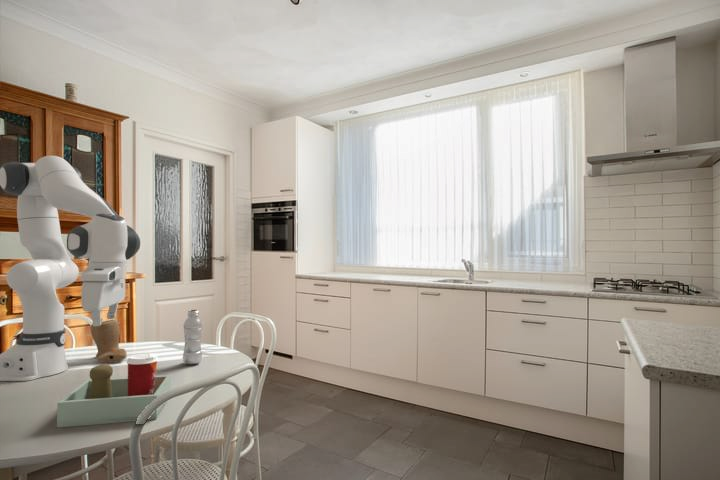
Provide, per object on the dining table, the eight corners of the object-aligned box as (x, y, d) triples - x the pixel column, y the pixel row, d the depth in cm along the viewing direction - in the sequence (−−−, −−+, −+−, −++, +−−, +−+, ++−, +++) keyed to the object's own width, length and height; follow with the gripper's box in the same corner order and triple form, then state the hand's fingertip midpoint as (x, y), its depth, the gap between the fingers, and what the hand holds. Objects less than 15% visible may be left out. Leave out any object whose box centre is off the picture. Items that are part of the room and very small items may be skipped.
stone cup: (90, 356, 151) (91, 318, 151) (125, 352, 157) (126, 316, 158) (88, 367, 138) (89, 325, 138) (126, 362, 145) (128, 322, 145)
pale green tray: (56, 427, 93) (57, 402, 93) (85, 401, 108) (86, 380, 109) (156, 419, 98) (157, 395, 99) (170, 395, 114) (171, 375, 114)
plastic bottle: (197, 366, 141) (198, 312, 141) (179, 366, 141) (180, 311, 141) (204, 361, 147) (206, 309, 148) (187, 361, 148) (188, 309, 148)
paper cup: (160, 407, 105) (164, 355, 106) (131, 415, 99) (134, 360, 100) (147, 401, 110) (150, 351, 111) (117, 408, 104) (121, 356, 105)
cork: (100, 413, 99) (101, 370, 99) (80, 410, 100) (81, 368, 100) (119, 403, 105) (120, 363, 105) (100, 401, 106) (101, 361, 106)
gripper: (109, 269, 116) (106, 315, 115) (77, 274, 96) (73, 330, 96) (132, 269, 117) (130, 315, 117) (105, 275, 97) (102, 330, 97)
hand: (104, 322), depth 106 cm, fingers open, 8 cm apart
